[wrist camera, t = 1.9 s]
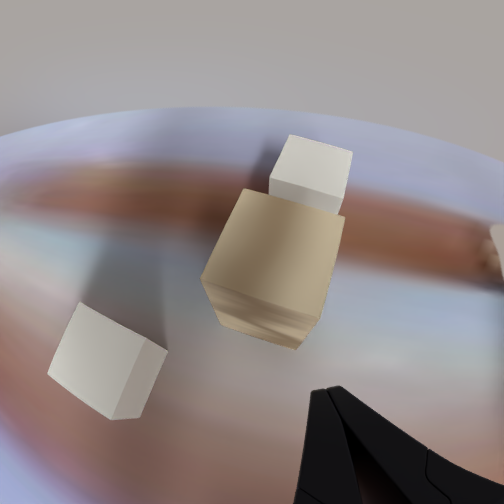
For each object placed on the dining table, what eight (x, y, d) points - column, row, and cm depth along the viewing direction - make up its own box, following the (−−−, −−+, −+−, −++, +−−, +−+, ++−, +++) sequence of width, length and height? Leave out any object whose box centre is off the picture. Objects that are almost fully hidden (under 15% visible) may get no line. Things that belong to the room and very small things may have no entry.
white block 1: (168, 351, 21) (146, 337, 17) (140, 417, 18) (110, 420, 14) (107, 320, 22) (77, 300, 18) (80, 380, 19) (45, 371, 15)
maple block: (317, 281, 23) (345, 217, 16) (295, 350, 21) (319, 318, 13) (248, 259, 25) (244, 188, 17) (221, 324, 22) (199, 278, 14)
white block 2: (341, 187, 28) (353, 151, 24) (330, 233, 26) (343, 198, 21) (284, 170, 30) (287, 133, 25) (265, 213, 27) (266, 176, 23)
